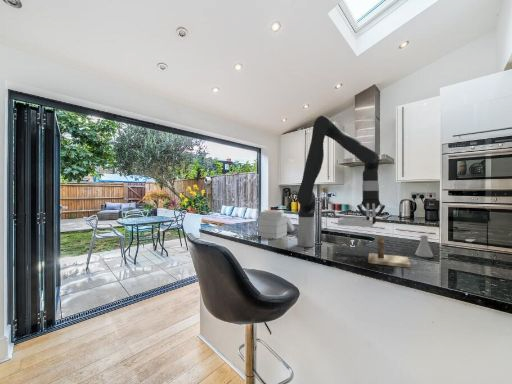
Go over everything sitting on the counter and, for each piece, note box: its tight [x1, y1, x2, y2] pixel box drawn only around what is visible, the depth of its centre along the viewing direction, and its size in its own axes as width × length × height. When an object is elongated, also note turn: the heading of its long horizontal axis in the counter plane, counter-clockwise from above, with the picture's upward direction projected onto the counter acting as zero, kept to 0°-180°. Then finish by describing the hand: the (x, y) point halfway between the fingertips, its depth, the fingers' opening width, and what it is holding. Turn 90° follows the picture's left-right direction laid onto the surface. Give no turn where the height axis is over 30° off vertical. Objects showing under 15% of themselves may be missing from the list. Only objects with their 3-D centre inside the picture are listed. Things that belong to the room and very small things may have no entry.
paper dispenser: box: [257, 209, 295, 240], centre depth 174 cm, size 19×30×18 cm, turn 146°
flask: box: [414, 234, 434, 258], centre depth 117 cm, size 7×7×10 cm
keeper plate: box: [367, 236, 411, 269], centre depth 108 cm, size 16×12×11 cm
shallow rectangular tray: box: [337, 216, 374, 228], centre depth 123 cm, size 16×10×3 cm, turn 63°
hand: (371, 224), depth 120 cm, fingers closed on shallow rectangular tray, 1 cm apart
